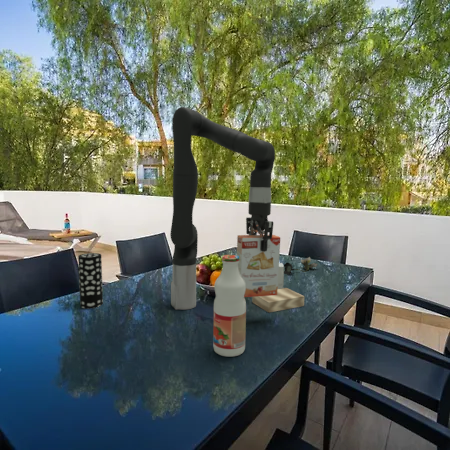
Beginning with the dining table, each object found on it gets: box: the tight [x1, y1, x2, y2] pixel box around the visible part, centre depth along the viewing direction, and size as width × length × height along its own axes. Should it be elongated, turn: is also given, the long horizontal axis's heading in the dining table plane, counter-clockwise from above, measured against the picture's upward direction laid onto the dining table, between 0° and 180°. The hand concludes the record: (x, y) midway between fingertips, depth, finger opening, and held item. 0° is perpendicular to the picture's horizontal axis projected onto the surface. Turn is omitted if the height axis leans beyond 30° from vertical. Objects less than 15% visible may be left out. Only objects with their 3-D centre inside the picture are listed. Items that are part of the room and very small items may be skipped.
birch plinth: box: [251, 287, 305, 313], centre depth 137 cm, size 17×12×4 cm
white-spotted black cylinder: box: [77, 252, 104, 310], centre depth 133 cm, size 8×8×20 cm
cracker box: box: [236, 234, 281, 298], centre depth 118 cm, size 14×6×21 cm, turn 105°
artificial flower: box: [283, 256, 319, 276], centre depth 189 cm, size 9×22×10 cm, turn 122°
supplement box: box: [278, 262, 285, 289], centre depth 153 cm, size 7×7×13 cm
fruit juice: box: [212, 254, 247, 357], centre depth 98 cm, size 9×9×28 cm
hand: (258, 249), depth 117 cm, fingers closed on cracker box, 6 cm apart
